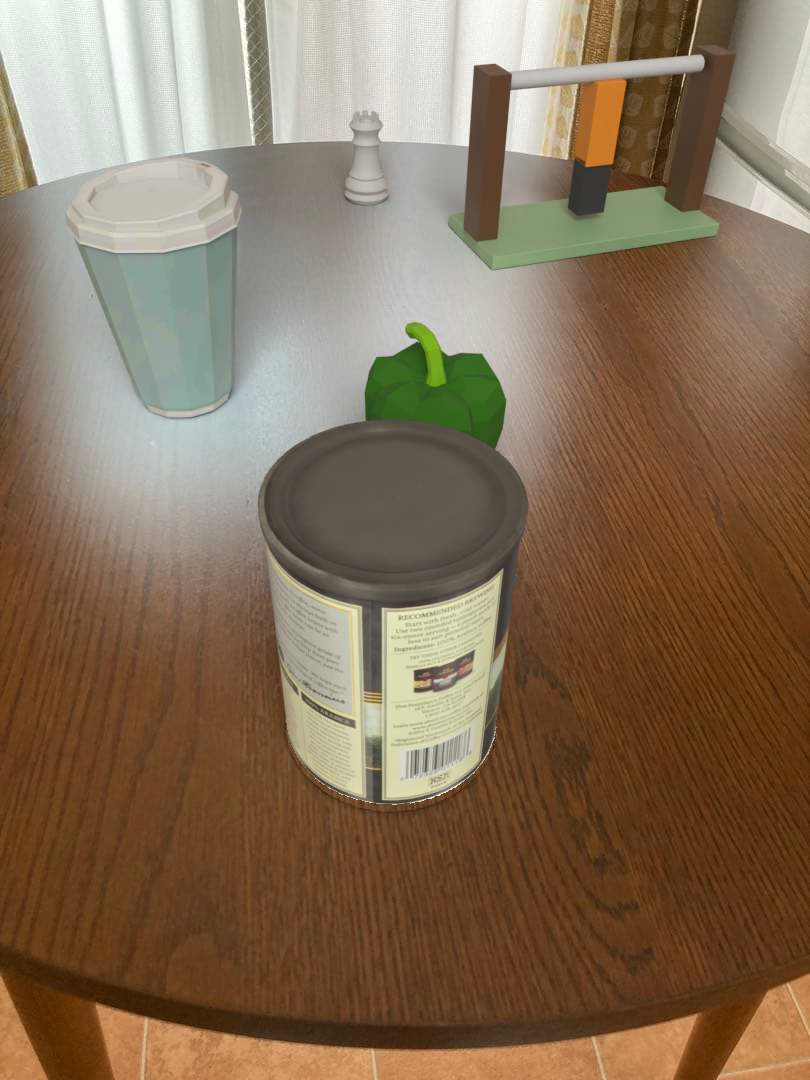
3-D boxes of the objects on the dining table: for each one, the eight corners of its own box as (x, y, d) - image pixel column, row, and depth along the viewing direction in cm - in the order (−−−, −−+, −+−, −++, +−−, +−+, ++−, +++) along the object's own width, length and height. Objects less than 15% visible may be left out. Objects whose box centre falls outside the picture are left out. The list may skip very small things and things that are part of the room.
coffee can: (378, 612, 50) (378, 389, 40) (538, 711, 45) (580, 484, 36) (237, 730, 44) (199, 501, 34) (404, 859, 39) (413, 633, 30)
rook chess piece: (370, 186, 95) (370, 104, 90) (397, 199, 93) (399, 116, 87) (335, 196, 93) (333, 112, 88) (362, 210, 91) (361, 125, 85)
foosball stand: (660, 197, 95) (693, 35, 85) (717, 235, 88) (760, 64, 78) (448, 226, 88) (457, 54, 78) (492, 270, 81) (508, 88, 71)
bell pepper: (512, 512, 56) (530, 370, 50) (379, 528, 55) (380, 384, 48) (477, 434, 62) (488, 298, 56) (357, 447, 61) (354, 309, 54)
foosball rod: (664, 193, 90) (693, 51, 82) (677, 203, 88) (709, 58, 80) (489, 217, 85) (501, 68, 76) (500, 228, 83) (514, 76, 75)
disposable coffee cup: (166, 456, 60) (123, 233, 50) (77, 392, 65) (22, 179, 55) (290, 394, 66) (274, 183, 56) (198, 339, 71) (169, 139, 61)
